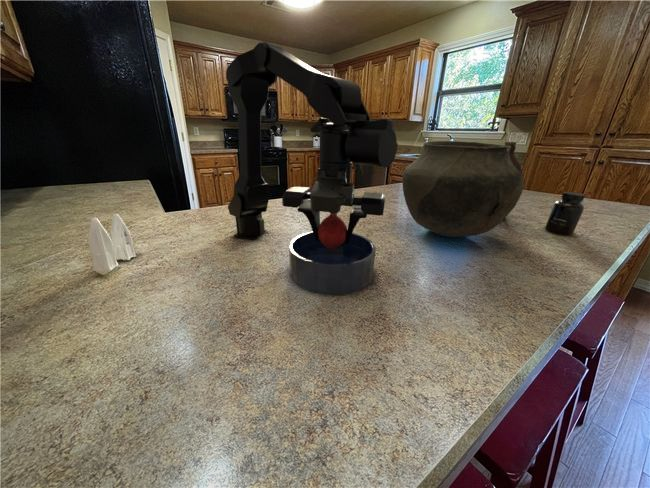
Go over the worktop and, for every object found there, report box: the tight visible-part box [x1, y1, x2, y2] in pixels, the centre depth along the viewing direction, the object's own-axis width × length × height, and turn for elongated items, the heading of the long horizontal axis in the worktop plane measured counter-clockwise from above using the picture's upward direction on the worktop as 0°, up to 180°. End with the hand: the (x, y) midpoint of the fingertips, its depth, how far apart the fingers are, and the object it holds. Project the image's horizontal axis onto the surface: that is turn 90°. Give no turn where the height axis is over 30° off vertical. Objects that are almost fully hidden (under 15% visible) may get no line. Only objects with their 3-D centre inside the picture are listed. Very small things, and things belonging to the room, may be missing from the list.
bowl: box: [288, 231, 377, 295], centre depth 55 cm, size 17×17×6 cm
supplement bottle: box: [544, 191, 586, 237], centre depth 80 cm, size 7×7×12 cm
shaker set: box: [87, 213, 136, 276], centre depth 54 cm, size 12×4×11 cm, turn 9°
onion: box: [318, 213, 348, 249], centre depth 53 cm, size 6×6×8 cm
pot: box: [401, 140, 525, 238], centre depth 74 cm, size 29×32×25 cm
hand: (332, 242), depth 54 cm, fingers closed on onion, 6 cm apart
